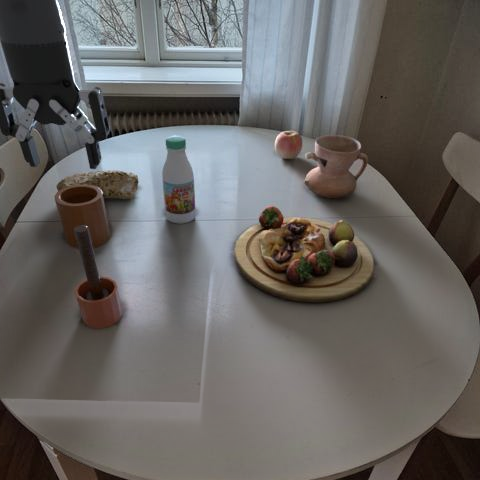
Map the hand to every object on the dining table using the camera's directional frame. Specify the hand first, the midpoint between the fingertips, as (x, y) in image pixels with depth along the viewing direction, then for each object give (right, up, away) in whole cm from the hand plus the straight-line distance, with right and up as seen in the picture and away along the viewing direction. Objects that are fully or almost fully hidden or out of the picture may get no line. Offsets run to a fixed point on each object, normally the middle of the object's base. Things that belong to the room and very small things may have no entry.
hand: (65, 165), depth 63 cm
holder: (-1, -22, +21) cm, 30 cm away
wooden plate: (+40, -9, +37) cm, 55 cm away
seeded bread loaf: (-13, +11, +56) cm, 58 cm away
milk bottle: (+10, +4, +49) cm, 51 cm away
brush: (-1, -22, +20) cm, 30 cm away
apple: (+41, +31, +80) cm, 95 cm away
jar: (-11, -3, +41) cm, 42 cm away
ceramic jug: (+52, +15, +63) cm, 83 cm away
